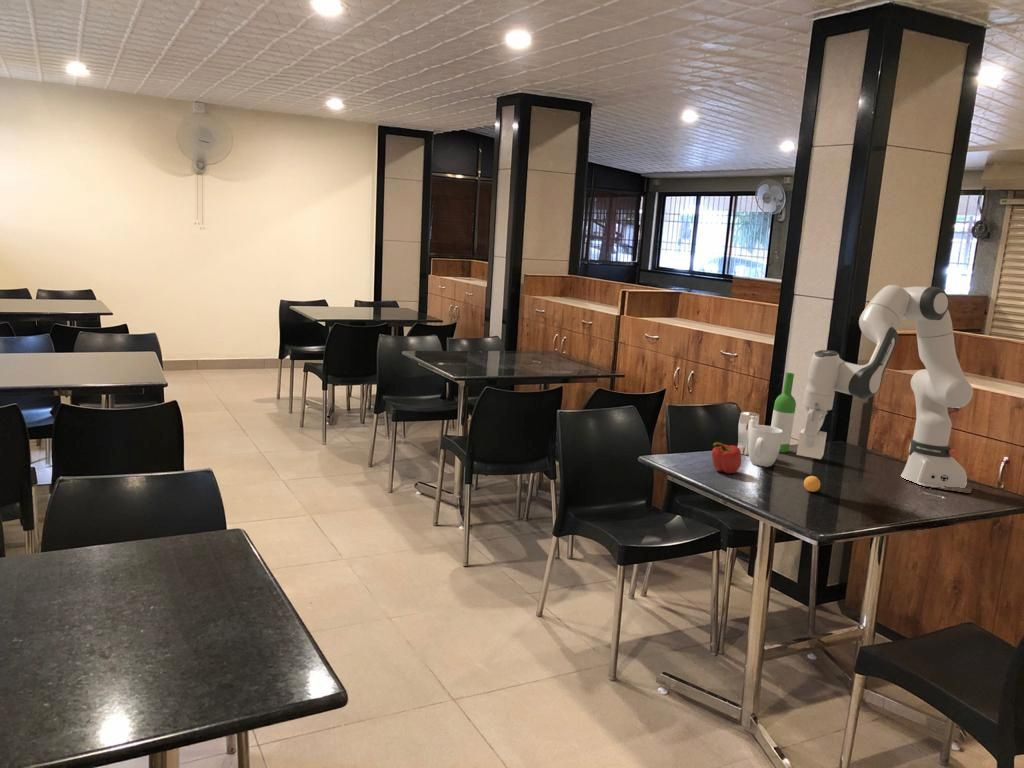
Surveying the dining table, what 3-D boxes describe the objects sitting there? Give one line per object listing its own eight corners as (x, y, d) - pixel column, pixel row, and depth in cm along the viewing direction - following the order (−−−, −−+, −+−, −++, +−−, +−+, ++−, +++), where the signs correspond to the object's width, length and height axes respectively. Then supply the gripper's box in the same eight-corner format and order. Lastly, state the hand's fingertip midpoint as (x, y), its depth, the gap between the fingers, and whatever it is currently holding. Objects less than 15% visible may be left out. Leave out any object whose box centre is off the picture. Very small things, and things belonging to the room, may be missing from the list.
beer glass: (756, 456, 300) (762, 416, 297) (737, 454, 300) (743, 414, 297) (750, 451, 307) (756, 412, 304) (732, 449, 307) (738, 410, 304)
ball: (801, 479, 265) (810, 492, 264) (799, 482, 260) (808, 496, 259) (815, 471, 263) (824, 484, 262) (813, 474, 258) (822, 488, 257)
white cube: (823, 454, 262) (826, 432, 261) (821, 459, 255) (824, 436, 254) (799, 450, 265) (802, 428, 264) (796, 454, 259) (799, 432, 257)
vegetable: (716, 476, 269) (720, 446, 267) (701, 466, 279) (705, 438, 277) (745, 476, 271) (750, 447, 270) (730, 467, 281) (734, 439, 280)
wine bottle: (792, 453, 310) (805, 375, 304) (774, 453, 308) (787, 374, 302) (780, 447, 317) (792, 371, 312) (763, 447, 315) (775, 370, 309)
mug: (770, 473, 278) (775, 436, 276) (738, 466, 284) (743, 429, 282) (780, 464, 291) (786, 429, 289) (749, 458, 297) (755, 423, 294)
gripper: (825, 408, 247) (817, 452, 249) (831, 399, 265) (824, 440, 267) (803, 404, 249) (796, 448, 252) (811, 395, 268) (804, 436, 270)
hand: (810, 444), depth 260 cm, fingers closed on white cube, 7 cm apart
